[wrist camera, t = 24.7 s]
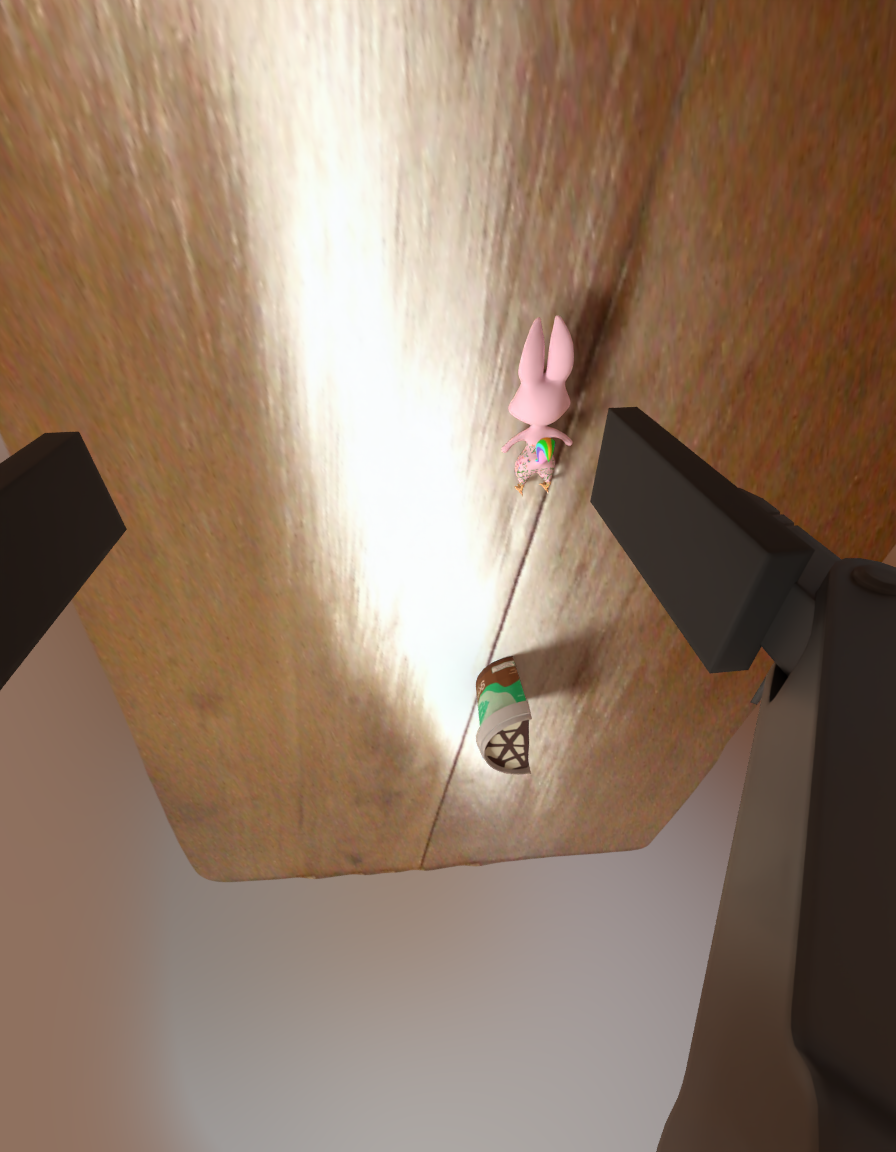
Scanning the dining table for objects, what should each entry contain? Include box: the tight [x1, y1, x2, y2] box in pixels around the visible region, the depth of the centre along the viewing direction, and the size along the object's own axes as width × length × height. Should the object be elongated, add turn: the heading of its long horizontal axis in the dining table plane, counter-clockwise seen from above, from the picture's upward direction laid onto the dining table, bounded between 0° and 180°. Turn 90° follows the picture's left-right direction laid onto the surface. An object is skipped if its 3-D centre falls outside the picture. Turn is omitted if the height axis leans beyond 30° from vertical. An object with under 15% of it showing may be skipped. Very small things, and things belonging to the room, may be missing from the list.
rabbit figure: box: [502, 316, 574, 496], centre depth 39 cm, size 6×6×15 cm
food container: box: [476, 656, 532, 775], centre depth 59 cm, size 12×6×10 cm, turn 5°
